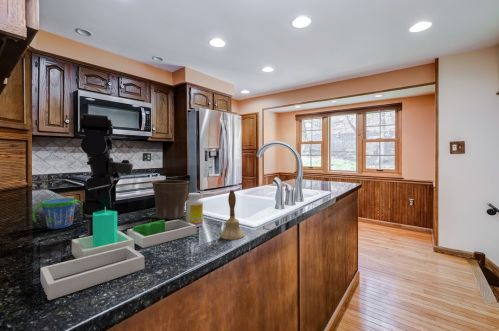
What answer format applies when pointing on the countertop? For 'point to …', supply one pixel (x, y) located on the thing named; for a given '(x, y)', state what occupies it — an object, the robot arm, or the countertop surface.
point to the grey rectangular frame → (91, 277)
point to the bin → (85, 246)
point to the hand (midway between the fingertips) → (111, 205)
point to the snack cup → (58, 212)
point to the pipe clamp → (150, 228)
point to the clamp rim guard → (164, 233)
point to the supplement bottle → (194, 209)
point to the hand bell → (232, 221)
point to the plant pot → (170, 198)
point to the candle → (104, 228)
